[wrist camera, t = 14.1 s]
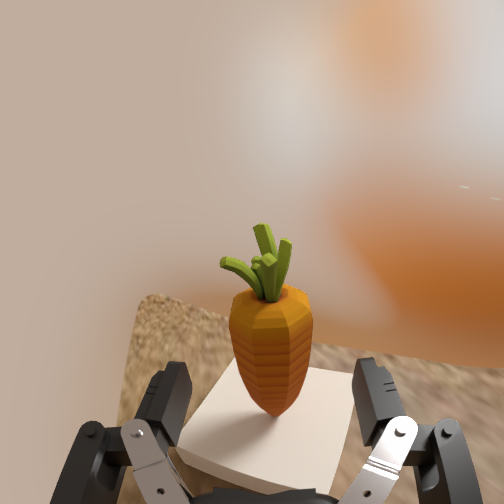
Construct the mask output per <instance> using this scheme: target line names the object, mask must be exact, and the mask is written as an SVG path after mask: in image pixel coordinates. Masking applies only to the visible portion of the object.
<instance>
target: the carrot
mask: <svg viewBox="0 0 504 504" xmlns="http://www.w3.org/2000/svg"><path fill="white" fill-rule="evenodd" d="M253 229H254V232H255V236H256V239H257V242H258V245H259V248H260V251H261V254H262V257H258V256H255V257H253V258H252V260H251V262H252V266H251V268H249V267H248V266H247V265H246V264H245V263H244V262H243V261H240V260H237V259H235V258H231V257H227V256H226V257H223V258H222V259H221V260H220V267H221V268H224V269H227V270H229V271H232V272H235V273H236V274H237V275H239V276H240V277H241V278H243V279H244V280H245V281H246V282H247V283H248V284H249V285H250V286H251V288H249V289H247V290H245V291H243V292H241V293H239V294H237V295H236V296H235V297H234V298H233V303H232V308H231V313H230V318H229V330H230V335H231V340H232V345H233V350H234V354H235V358H236V362H237V366H238V370H239V374H240V376H241V378H242V381H243V383H244V385H245V387H246V389H247V391H248V393H249V395H250V397H251V398H252V400H253V401H254V402H255V403H256V404H257V405H258V406H259V407H260V408H261V409H263V410H264V411H265V412H267V413H268V414H269V415H271V416H272V417H279V416H280V415H281V414H283V413H284V412H285V411H286V410H287V409H288V408H289V407H290V406H292V404H293V403H294V402H295V400H296V399H297V398H298V396H299V394H300V391H301V389H302V386H303V384H304V381H305V377H306V374H307V371H308V366H309V359H310V351H311V341H312V329H313V318H312V313H311V309H310V304H309V300H308V297H307V294H306V293H304V292H303V291H301V290H299V289H296V288H294V287H291V286H289V285H286V284H284V280H285V276H286V274H287V271H288V267H289V262H290V257H291V249H292V243H291V242H290V241H289V240H288V239H287V238H281V242H280V246H279V252H277V249H276V244H275V240H274V237H273V235H272V231H271V229H270V226H269V225H268V224H264V223H259V224H258V225H256V226H254V227H253Z"/></svg>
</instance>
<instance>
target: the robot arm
mask: <svg viewBox="0 0 504 504" xmlns="http://www.w3.org/2000/svg"><path fill="white" fill-rule="evenodd" d="M352 393H353V397H354V402H355V406H356V410H357V415H358V419H359V424H360V429H361V433H362V438H363V443H364V447H366V446H372V451H373V452H372V453H371V455H370V457H369V458H368V460H367V461H366V463H365V465H364V466H363V468H362V469H361V471H360V472H359V474H358V475H357V477H356V478H355V480H354V481H353V483H352V484H351V486H350V487H349V488H348V490H347V491H346V493H345V494H344V495H343V497H342V498H341V499H340V501H339V500H337V499H336V498H333V497H331V496H328V495H325V494H321V493H316V488H311V489H296V490H287V491H283V492H279V493H275V494H270V495H259V494H255V493H251V492H247V491H243V490H239V489H228V488H217V487H214V489H213V492H209V493H204V494H201V495H198V496H196V497H194V496H193V495H192V493H191V492H190V490H189V489H188V487H187V486H186V485H185V483H184V482H183V480H182V478H181V477H180V475H179V473H178V471H177V470H176V468H175V466H174V464H173V463H172V461H171V459H170V457H169V455H168V453H167V451H168V448H169V446H171V447H177V444H178V440H179V437H180V433H181V430H182V426H183V423H184V419H185V416H186V412H187V409H188V405H189V402H190V398H191V395H192V382H191V379H190V376H189V373H188V369H187V366H186V364H185V362H174V361H169V362H168V364H167V366H166V368H165V371H158V372H157V373H156V374H155V375H154V376H153V377H152V379H151V381H150V383H149V385H148V388H147V390H146V394H145V395H144V397H143V399H142V402H141V404H140V406H139V409H138V411H137V413H136V416H135V418H134V419H132V420H129V421H127V422H126V423H125V424H124V425H123V426H122V427H111V428H104V427H103V425H102V424H101V423H99V422H97V421H89V422H86V423H85V424H83V425H82V426H81V428H80V429H79V432H78V434H77V436H76V439H75V441H74V443H73V445H72V448H71V450H70V453H69V455H68V457H67V460H66V462H65V465H64V467H63V470H62V472H61V474H60V477H59V480H58V482H57V485H56V488H55V490H54V493H53V496H52V499H51V501H50V504H116V503H117V500H118V496H119V492H120V488H121V485H122V481H123V478H124V474H125V471H126V467H127V466H133V467H134V471H133V475H134V478H135V480H136V482H137V485H138V487H139V489H140V491H141V493H142V495H143V497H144V499H145V501H146V503H147V504H383V503H384V501H385V499H386V498H387V496H388V494H389V492H390V491H391V489H392V487H393V485H394V484H395V482H396V480H397V478H398V476H399V473H400V472H399V470H400V468H401V466H413V469H414V474H415V480H416V485H417V492H418V498H419V504H483V501H482V497H481V492H480V488H479V484H478V480H477V476H476V473H475V469H474V466H473V462H472V459H471V456H470V452H469V449H468V446H467V443H466V440H465V437H464V434H463V432H462V429H461V426H460V424H459V423H458V422H457V421H456V420H454V419H450V418H446V419H442V420H440V421H439V422H438V423H437V424H436V425H419V424H416V423H415V422H414V421H413V420H412V419H410V418H408V417H407V416H406V413H405V410H404V408H403V405H402V402H401V399H400V397H399V394H398V391H397V390H396V386H395V384H394V381H393V378H392V376H391V373H390V372H389V371H388V370H387V369H386V368H385V367H384V366H383V367H377V365H376V362H375V360H374V358H373V357H370V358H361V359H357V361H356V365H355V370H354V374H353V378H352Z"/></svg>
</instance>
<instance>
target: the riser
mask: <svg viewBox="0 0 504 504" xmlns="http://www.w3.org/2000/svg"><path fill="white" fill-rule="evenodd" d="M352 378H353V374H349V373H342V372H336V371H329V370H323V369H317V368H312V367H308V371H307V374H306V377H305V381H304V384H303V386H302V389H301V391H300V394H299V396H298V398H297V399H296V400H295V402H294V403H293V404H292V406H290V407H289V408H288V409H287V410H286V411H285V412H284V413H283V414H281V415H280V416H279V417H272V416H271V415H269V414H268V413H267V412H265V411H264V410H263V409H261V408H260V407H259V406H258V405H257V404H256V403H255V402H254V401H253V400H252V398H251V397H250V395H249V393H248V391H247V389H246V387H245V385H244V383H243V381H242V378H241V376H240V374H239V370H238V366H237V362H236V358H234V359H233V361H232V362H231V363H230V365H229V366H228V368H227V369H226V371H225V372H224V373H223V375H222V376H221V378H220V379H219V380H218V382H217V383H216V385H215V386H214V387H213V389H212V390H211V391H210V393H209V394H208V396H207V397H206V398H205V400H204V401H203V402H202V404H201V405H200V406H199V408H198V409H197V410H196V412H195V413H194V415H193V416H192V417H191V419H190V420H189V421H188V422H187V424H186V425H185V426H184V428H183V429H182V430H181V433H180V437H179V440H178V444H177V447H174V448H175V449H176V451H177V453H178V454H179V456H180V457H181V459H182V460H183V462H184V463H185V464H187V465H189V466H192V467H194V468H196V469H198V470H200V471H203V472H205V473H207V474H210V475H212V476H215V477H217V478H220V479H222V480H225V481H227V482H230V483H233V484H235V485H238V486H241V487H244V488H247V489H250V490H253V491H256V492H259V493H263V494H266V495H270V494H275V493H279V492H283V491H287V490H296V489H311V488H316V493H321V494H325V495H328V493H329V490H330V487H331V485H332V482H333V479H334V475H335V472H336V469H337V466H338V463H339V459H340V456H341V453H342V449H343V445H344V442H345V438H346V434H347V430H348V426H349V422H350V418H351V414H352V409H353V405H354V397H353V393H352Z"/></svg>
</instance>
